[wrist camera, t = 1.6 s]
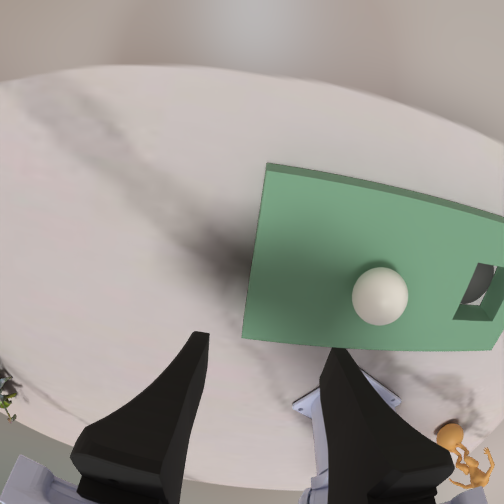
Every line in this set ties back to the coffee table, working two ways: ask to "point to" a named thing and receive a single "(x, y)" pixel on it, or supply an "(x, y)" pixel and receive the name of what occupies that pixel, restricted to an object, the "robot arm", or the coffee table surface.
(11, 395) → the passion flower
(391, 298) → the ball
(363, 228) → the putting mat
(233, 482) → the coffee table surface
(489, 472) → the figurine
